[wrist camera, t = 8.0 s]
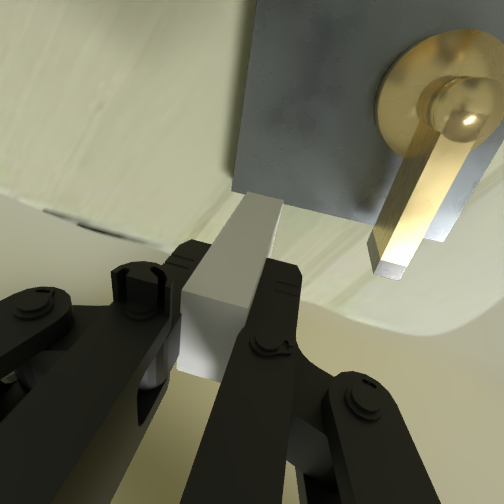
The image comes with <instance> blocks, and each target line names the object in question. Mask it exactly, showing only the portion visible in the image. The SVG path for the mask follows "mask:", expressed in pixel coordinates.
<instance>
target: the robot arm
mask: <svg viewBox="0 0 504 504" xmlns="http://www.w3.org/2000/svg"><path fill="white" fill-rule="evenodd" d="M283 202H284V200H281V199H277V198H272V197H268V196H264V195H260V194H256V193H252V192H247V193H246V194H245V196H244V197H243V199H242V200H241V202H240V203H239V205H238V206H237V208H236V209H235V211H234V212H233V214H232V215H231V217H230V218H229V220H228V221H227V223H226V224H225V226H224V227H223V229H222V230H221V232H220V233H219V235H218V236H217V238H216V239H215V241H214V242H213V244H208V243H204V242H200V241H196V240H192V239H191V240H189V241H187V242H185V243H183V244H181V245H179V246H178V247H177V248H176V249H175V251H174V252H173V253H172V254H171V256H169V258H168V259H167V260H166V261H165V264H164V263H163V265H159V264H157V263H152V262H146V261H140V262H130V263H127V264H124V265H121V266H119V267H117V268H115V269H114V270H112V271H111V279H112V289H113V299H114V301H113V302H112V303H111V305H109V306H83V305H82V306H81V305H72V303H71V298H70V295H68V294H67V293H66V292H65V291H64V290H62V289H58V288H55V287H37V288H30V289H26V290H23V291H21V292H18V293H15V294H13V295H11V296H9V297H7V298H5V299H3V300H1V301H0V504H110V502H111V500H112V498H113V496H114V494H115V492H116V490H117V488H118V486H119V484H120V482H121V480H122V478H123V476H124V474H125V472H126V470H127V468H128V466H129V464H130V462H131V460H132V458H133V456H134V454H135V452H136V450H137V448H138V446H139V444H140V442H141V440H142V439H143V437H144V434H145V433H146V431H147V428H148V427H149V424H150V423H151V420H152V419H153V417H154V414H155V412H156V411H157V409H158V407H159V405H160V403H161V400H162V399H163V396H164V394H165V393H166V391H167V388H168V384H169V378H170V371H171V369H172V367H173V365H174V363H175V362H176V360H177V370H180V371H183V372H186V373H190V374H193V375H196V376H200V377H203V378H206V379H210V380H213V381H217V382H220V383H221V385H220V387H219V390H218V393H217V396H216V399H215V402H214V405H213V408H212V411H211V414H210V417H209V419H208V422H207V425H206V428H205V431H204V434H203V437H202V440H201V443H200V446H199V448H198V452H197V455H196V457H195V460H194V463H193V466H192V469H191V472H190V475H189V478H188V481H187V483H186V487H185V489H184V492H183V495H182V498H181V501H180V504H282V495H283V485H284V476H285V467H286V466H285V465H286V460H287V461H288V462H290V463H291V464H292V465H294V466H295V470H296V477H297V485H298V493H299V500H300V504H441V503H440V500H439V498H438V496H437V494H436V492H435V489H434V487H433V485H432V482H431V480H430V478H429V476H428V473H427V471H426V469H425V467H424V465H423V462H422V460H421V458H420V456H419V453H418V451H417V449H416V447H415V444H414V442H413V440H412V438H411V435H410V433H409V431H408V429H407V426H406V424H405V422H404V420H403V417H402V415H401V413H400V411H399V408H398V406H397V404H396V403H395V401H394V399H393V398H392V396H391V395H390V393H389V392H388V391H387V390H386V389H385V388H384V387H383V386H382V385H381V384H380V383H379V382H378V381H376V380H374V379H373V378H371V377H369V376H368V375H366V374H362V373H358V372H354V371H349V372H341V373H340V374H338V375H337V376H335V377H333V376H332V375H330V374H328V373H327V372H325V371H323V370H321V369H320V368H318V367H317V366H315V365H314V364H313V363H311V362H310V361H309V360H308V359H307V358H306V357H305V356H304V355H303V354H302V352H301V351H300V349H299V348H298V344H297V342H296V327H297V319H298V310H299V302H300V293H301V284H302V274H301V272H300V270H299V268H298V266H297V265H293V264H290V263H286V262H282V261H278V260H274V259H270V257H271V252H272V248H273V244H274V240H275V236H276V232H277V227H278V223H279V219H280V215H281V211H282V206H283ZM12 371H14V372H15V374H13V375H11V376H9V377H7V378H3V377H5V376H6V375H8V374H9V373H11V372H12Z"/></svg>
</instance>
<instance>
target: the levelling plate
mask: <svg viewBox="0 0 504 504" xmlns="http://www.w3.org/2000/svg"><path fill="white" fill-rule="evenodd" d="M457 29H474V30H479V31H483V32H486V33H488V34H491V35H493V36H494V37H496V38H497V39H499V40H500V41H501V42H502V43H503V44H504V0H257V5H256V13H255V20H254V27H253V35H252V42H251V50H250V57H249V64H248V72H247V79H246V86H245V94H244V101H243V109H242V116H241V123H240V131H239V138H238V145H237V153H236V160H235V168H234V175H233V182H232V190H231V191H233V192H237V193H241V194H246V193H247V192H252V193H256V194H260V195H264V196H268V197H272V198H277V199H281V200H284V202H283V204H287V205H291V206H295V207H299V208H303V209H308V210H312V211H316V212H320V213H324V214H328V215H332V216H337V217H341V218H345V219H349V220H353V221H357V222H361V223H365V224H370V225H375V223H376V221H377V218H378V216H379V214H380V211H381V209H382V207H383V204H384V202H385V200H386V197H387V195H388V193H389V191H390V188H391V186H392V184H393V181H394V179H395V177H396V174H397V172H398V170H399V168H400V165H401V163H402V161H403V157H401V156H400V155H398V154H397V153H396V152H394V151H393V150H392V149H391V148H390V146H389V145H388V144H387V143H386V141H385V140H384V139H383V137H382V136H381V134H380V132H379V130H378V127H377V124H376V120H375V101H376V96H377V92H378V89H379V86H380V84H381V82H382V80H383V78H384V76H385V74H386V72H387V71H388V70H389V68H390V67H391V65H392V64H393V63H394V62H395V61H396V59H397V58H398V57H399V56H400V55H402V54H403V53H404V52H405V51H406V50H407V49H409V48H410V47H411V46H413V45H415V44H416V43H418V42H419V41H422V40H424V39H426V38H428V37H431V36H434V35H437V34H440V33H444V32H447V31H452V30H457ZM503 140H504V119H503V120H502V122H501V123H500V125H499V126H498V127H497V128H496V130H495V131H494V132H493V133H492V134H491V135H490V136H489V137H488V138H487V139H486V140H485V141H484V142H483V143H481V144H480V145H479V146H477V147H476V148H474V149H473V150H472V151H470V152H469V153H468V155H467V157H466V159H465V161H464V163H463V164H462V166H461V168H460V170H459V172H458V174H457V175H456V177H455V179H454V181H453V183H452V185H451V186H450V188H449V190H448V192H447V194H446V196H445V197H444V199H443V201H442V203H441V205H440V207H439V208H438V210H437V212H436V214H435V216H434V218H433V219H432V221H431V223H430V225H429V227H428V229H427V230H426V232H425V234H424V236H423V238H428V239H432V240H436V241H440V242H443V241H444V240H445V238H446V236H447V235H448V233H449V231H450V230H451V228H452V226H453V225H454V223H455V221H456V220H457V218H458V216H459V214H460V213H461V211H462V209H463V208H464V206H465V204H466V203H467V201H468V199H469V198H470V196H471V194H472V193H473V191H474V189H475V187H476V186H477V184H478V182H479V181H480V179H481V177H482V176H483V174H484V172H485V171H486V169H487V167H488V166H489V164H490V162H491V160H492V159H493V157H494V155H495V154H496V152H497V150H498V149H499V147H500V145H501V144H502V142H503Z"/></svg>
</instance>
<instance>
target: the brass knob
mask: <svg viewBox="0 0 504 504" xmlns="http://www.w3.org/2000/svg"><path fill="white" fill-rule="evenodd" d="M503 119H504V44H503V43H502V42H501V41H500V40H499V39H497V38H496V37H494V36H493V35H491V34H488V33H486V32H483V31H479V30H474V29H457V30H452V31H447V32H444V33H440V34H437V35H434V36H431V37H428V38H426V39H424V40H422V41H419V42H418V43H416V44H415V45H413V46H411V47H410V48H409V49H407V50H406V51H405V52H404V53H403V54H402V55H400V56H399V57H398V58H397V59H396V61H395V62H394V63H393V64H392V65H391V67H390V68H389V70H388V71H387V72H386V74H385V76H384V78H383V80H382V82H381V84H380V86H379V89H378V92H377V96H376V101H375V120H376V124H377V127H378V130H379V132H380V134H381V136H382V137H383V139H384V140H385V141H386V143H387V144H388V145H389V146H390V148H391V149H392V150H393V151H394V152H396V153H397V154H398V155H400V156H401V157H403V161H402V163H401V165H400V168H399V170H398V172H397V174H396V177H395V179H394V181H393V184H392V186H391V188H390V191H389V193H388V195H387V197H386V200H385V202H384V204H383V207H382V209H381V211H380V214H379V216H378V218H377V221H376V223H375V225H374V227H373V230H372V232H371V234H370V237H369V239H368V241H367V246H368V251H369V256H370V260H371V265H372V269H373V274H374V275H378V276H382V277H386V278H390V279H394V280H398V281H399V280H400V278H401V276H402V275H403V273H404V271H405V269H406V267H407V265H408V264H409V262H410V260H411V258H412V256H413V254H414V253H415V251H416V249H417V247H418V245H419V243H420V242H421V240H422V238H423V236H424V234H425V232H426V230H427V229H428V227H429V225H430V223H431V221H432V219H433V218H434V216H435V214H436V212H437V210H438V208H439V207H440V205H441V203H442V201H443V199H444V197H445V196H446V194H447V192H448V190H449V188H450V186H451V185H452V183H453V181H454V179H455V177H456V175H457V174H458V172H459V170H460V168H461V166H462V164H463V163H464V161H465V159H466V157H467V155H468V153H469V152H470V151H472V150H473V149H474V148H476V147H477V146H479V145H480V144H481V143H483V142H484V141H485V140H486V139H487V138H488V137H489V136H490V135H491V134H492V133H493V132H494V131H495V130H496V128H497V127H498V126H499V125H500V123H501V122H502V120H503Z"/></svg>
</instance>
